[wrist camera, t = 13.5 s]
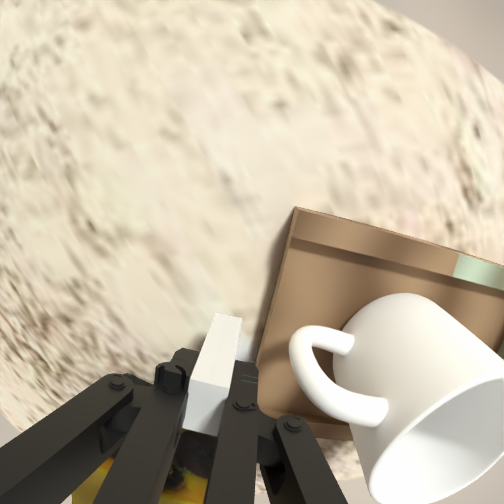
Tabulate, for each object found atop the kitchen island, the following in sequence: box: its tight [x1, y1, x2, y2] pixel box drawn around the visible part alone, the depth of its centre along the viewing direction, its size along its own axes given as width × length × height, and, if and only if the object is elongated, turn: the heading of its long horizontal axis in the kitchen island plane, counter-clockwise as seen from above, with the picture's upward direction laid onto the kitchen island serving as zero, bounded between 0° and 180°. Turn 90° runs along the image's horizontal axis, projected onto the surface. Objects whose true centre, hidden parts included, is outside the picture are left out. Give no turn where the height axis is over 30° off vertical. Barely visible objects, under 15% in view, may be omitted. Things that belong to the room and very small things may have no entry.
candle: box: [72, 373, 217, 504], centre depth 19 cm, size 10×10×10 cm
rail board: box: [255, 206, 504, 440], centre depth 18 cm, size 21×15×6 cm
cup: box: [289, 293, 504, 504], centre depth 14 cm, size 8×12×10 cm
